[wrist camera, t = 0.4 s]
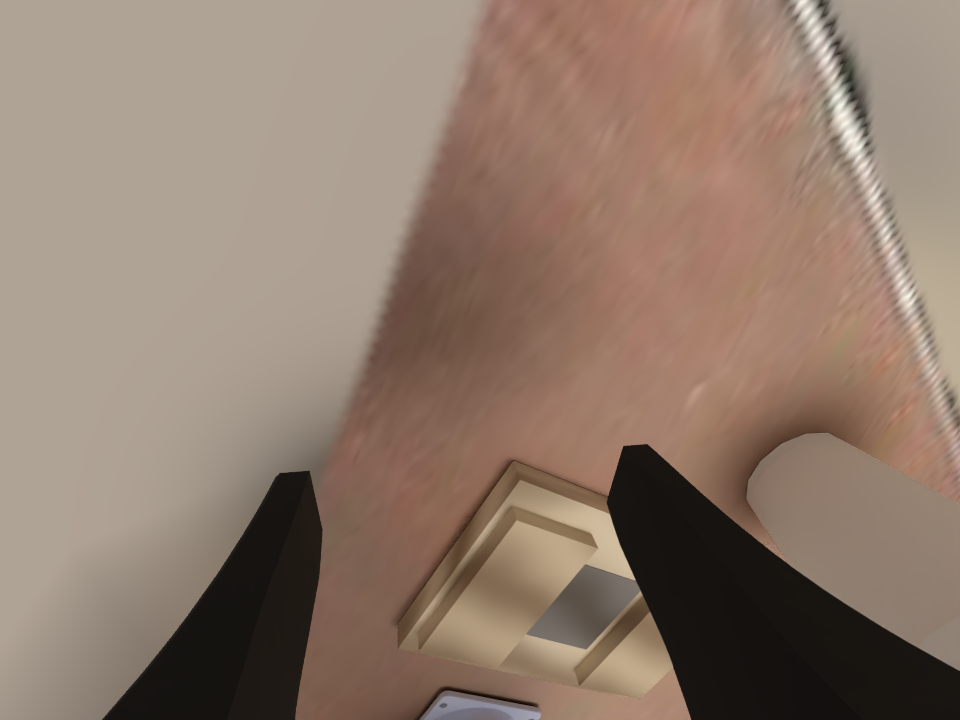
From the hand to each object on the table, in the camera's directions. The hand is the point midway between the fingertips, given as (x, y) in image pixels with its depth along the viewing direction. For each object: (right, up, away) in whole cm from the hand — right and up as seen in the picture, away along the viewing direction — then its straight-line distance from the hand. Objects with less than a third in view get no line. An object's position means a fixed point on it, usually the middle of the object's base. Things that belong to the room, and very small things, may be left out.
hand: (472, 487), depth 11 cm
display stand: (+6, -11, +18) cm, 22 cm away
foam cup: (+19, -4, +17) cm, 25 cm away
